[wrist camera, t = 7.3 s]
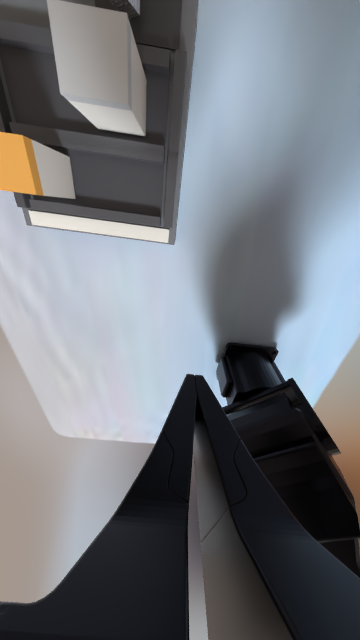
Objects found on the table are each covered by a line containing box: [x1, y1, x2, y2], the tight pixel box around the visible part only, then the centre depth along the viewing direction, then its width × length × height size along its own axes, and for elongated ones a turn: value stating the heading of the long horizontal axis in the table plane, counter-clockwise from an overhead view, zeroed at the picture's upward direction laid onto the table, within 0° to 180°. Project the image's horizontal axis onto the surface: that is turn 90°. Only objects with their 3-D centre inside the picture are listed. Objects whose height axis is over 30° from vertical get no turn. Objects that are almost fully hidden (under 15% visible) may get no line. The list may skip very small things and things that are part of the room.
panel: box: [0, 0, 198, 245], centre depth 12 cm, size 12×12×3 cm
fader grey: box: [47, 0, 147, 137], centre depth 9 cm, size 3×2×4 cm
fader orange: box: [0, 132, 76, 199], centre depth 11 cm, size 3×2×4 cm
